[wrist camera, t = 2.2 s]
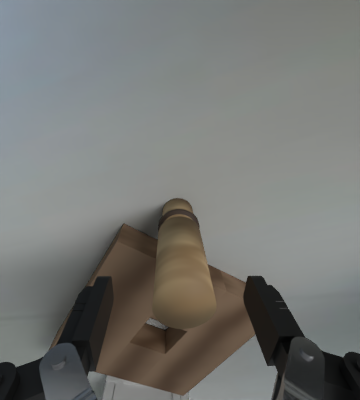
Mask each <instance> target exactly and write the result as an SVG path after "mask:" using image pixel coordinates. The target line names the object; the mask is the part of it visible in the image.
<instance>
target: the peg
mask: <svg viewBox="0 0 360 400" xmlns="http://www.w3.org/2000/svg"><path fill="white" fill-rule="evenodd" d="M216 306H217V304H216V299H215V294H214V290H213V286H212V281H211V277H210V273H209V268H208V264H207V260H206V255H205V251H204V247H203V242H202V238H201V234H200V230H199V223H198V220H197V218H196V216H195V215H194V214H193V210H192V207H191V205H190V204H189V202H187V201H186V200H184V199H180V198H176V199H172V200H170V201H168V202H167V203H166V204H165V206H164V208H163V215H162V217H161V219H160V221H159V225H158V244H157V256H156V268H155V280H154V292H153V304H152V311H153V314H154V316H155V318H156V319H157V320H158V321H159V322H160V323H162V324H163V325H165V326H168V327H171V328H175V329H189V328H194V327H197V326H200V325H202V324H204V323H206V322H207V321H208V320H209V319H211V317H212V316H213V315H214V313H215V311H216Z"/></svg>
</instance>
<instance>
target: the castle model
mask: <svg viewBox="0 0 360 400" xmlns="http://www.w3.org/2000/svg"><path fill="white" fill-rule="evenodd" d="M102 400H189V393H188V392H187V393H186V394H185V395H184V396H182V395H178V394H174V393H171V392H167V391H164V390H160V389H156V388H153V387H149V386H145V385H142V384H138V383H134V382H131V381H127V380H123V379H120V378H116V377H112V376H109V375H107V377H106V381H105V386H104V391H103V395H102Z"/></svg>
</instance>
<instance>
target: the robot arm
mask: <svg viewBox="0 0 360 400" xmlns="http://www.w3.org/2000/svg"><path fill="white" fill-rule="evenodd" d="M113 300H114V293H113V285H112V277H111V276H97V278H96V280H95V282H94V285H93V286H86V287H85V288H84V289H83V290H82V292H81V293H80V294H79V295H78V298H77V300H76V302H75V305H74V307H73V309H72V312H71V313H70V316H69V318H68V320H67V322H66V324H65V327H64V329H63V331H62V333H61V336H60V338H59V340H58V342H57V344H56V345H55V346H54V347H53V348H51V349H50V350H49V351H48V352H47V353H46V354H45V355H44V357H42V358H40V359H38V360H36V361H33V362H30V363H27V364H24V365H22V366H19V367H15V365H14V364H12V363H10V362H3V363H0V400H97V398H96V396H95V393H94V392H93V391H92V388H91V386H90V383H89V381H88V378H87V376H88V373H89V371H96V368H97V364H98V361H99V357H100V353H101V349H102V345H103V341H104V338H105V334H106V330H107V326H108V322H109V318H110V315H111V311H112V307H113ZM243 300H244V305H245V308H246V310H247V313H248V315H249V318H250V321H251V323H252V326H253V329H254V331H255V334H256V337H257V339H258V342H259V345H260V347H261V350H262V353H263V355H264V358H265V360H266V363H267V366H276V369H277V371H278V373H277V376H276V380H275V385H274V389H273V394H272V398H271V400H360V354H359V353H355V352H348V353H346V354H345V356H344V357H340V356H336V355H333V354H330V353H326V352H324V351H321V350H320V348H319V347H318V346H317V345H316V344H315V343H314V342H312V341H311V340H309V339H307V338H305V336H304V334H303V333H302V331H301V329H300V328H299V326H298V324H297V322H296V321H295V319H294V317H293V316H292V314H291V312H290V310H289V309H288V307H287V305H286V303H285V302H284V300H283V298H282V297H281V295H280V293H279V292H278V291H277V290H276V289H275V288H274V287H273V286H272V285H267V284H266V282H265V280H264V278H263V277H262V276H248V278H247V282H246V286H245V290H244V294H243Z"/></svg>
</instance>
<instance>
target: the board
mask: <svg viewBox="0 0 360 400" xmlns="http://www.w3.org/2000/svg"><path fill="white" fill-rule="evenodd" d="M157 244H158V240H157V239H154V238H152V237H150V236H148V235H146V234H144V233H142V232H140V231H138V230H136V229H134V228H132V227H130V226H128V225H126V224H123V226H122V227H121V229H120V231H119V232H118V234H117V235H116V237H115V239H114V240H113V242H112V244H111V245H110V247H109V249H108V250H107V252H106V254H105V255H104V257H103V258H102V260H101V262H100V263H99V265H98V267H97V268H96V270H95V272H94V273H93V275H92V277H91V278H90V280H89V281H88V283H87V285H86V286H93V285H94V282H95V280H96V278H97V276H111V277H112V285H113V293H114V300H113V307H112V311H111V315H110V318H109V322H108V326H107V330H106V334H105V338H104V341H103V345H102V349H101V353H100V357H99V361H98V364H97V368H96V371H94V372H98V373H101V374H105V375H109V376H112V377H116V378H120V379H123V380H127V381H131V382H134V383H138V384H142V385H145V386H149V387H153V388H156V389H160V390H164V391H167V392H171V393H174V394H178V395H182V396H184V395H185V394H186V393H187V392H188V391H190V390H191V389H192V388H193V387H194V386H195V385H197V384H198V383H199V382H200V381H201V380H202V379H204V378H205V377H206V376H207V375H208V374H209V373H211V372H212V371H213V370H214V369H215V368H216V367H218V366H219V365H220V364H221V363H222V362H223V361H225V360H226V359H227V358H228V357H229V356H231V355H232V354H233V353H234V352H235V351H236V350H238V349H239V348H240V347H241V346H242V345H243V344H245V343H246V342H247V341H248V340H249V339H250V338H252V337H253V336H254V335H255V331H254V329H253V326H252V323H251V321H250V318H249V315H248V313H247V310H246V308H245V305H244V300H243V294H244V290H245V286H246V283H245V282H243V281H241V280H239V279H237V278H235V277H233V276H231V275H229V274H227V273H225V272H223V271H221V270H218V269H216V268H214V267H212V266H210V265H208V268H209V273H210V277H211V281H212V286H213V290H214V294H215V299H216V304H217V306H216V311H215V313H214V315H213V316H212V317H211V319H209V320H208V321H207V322H206V323H204V324H202V325H200V326H197V327H194V328H189V329H175V328H171V327H169V328H168V329H167V330H166V331H165V330H163V329H160V328H157V327H154V326H151V325H149V324H146V322H147V320H148V319H149V318H152V319H155V320H157V319H156V318H155V316H154V314H153V311H152V304H153V292H154V280H155V268H156V256H157ZM86 286H85V287H86ZM74 305H75V304H74ZM73 307H74V306H73ZM72 309H73V308H72ZM72 309H71V311H70V313H71V312H72ZM70 313H69V314H68V316H67V318H66V319H65V321H64V322H63V324H62V326H61V327H60V329H59V331H58V332H57V334H56V336H55V338H54V340H53V342H52V344H51V347H50V349H51V348H53V347H54V346H55V345H56V344H57V342H58V340H59V338H60V336H61V333H62V331H63V329H64V327H65V324H66V322H67V320H68V318H69V316H70ZM50 349H49V350H50Z"/></svg>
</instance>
